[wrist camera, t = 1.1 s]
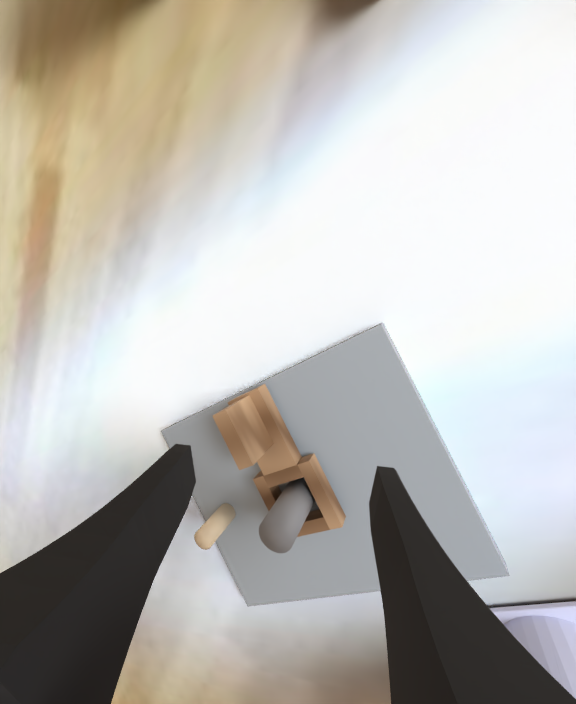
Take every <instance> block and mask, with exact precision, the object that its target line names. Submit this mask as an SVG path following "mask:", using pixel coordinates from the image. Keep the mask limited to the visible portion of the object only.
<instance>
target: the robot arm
mask: <svg viewBox="0 0 576 704" xmlns="http://www.w3.org/2000/svg"><path fill="white" fill-rule="evenodd" d="M195 484H196V478H195V471H194V465H193V458H192V451H191V445H183V444H175V445H174V446H172V447H171V448H170V449H169V450H168V451H167V452H166V453H165V454H164V455H163V456H162V457H161V458H159V459H158V460H157V461H156V462H155V463H154V464H153V465H152V466H151V467H150V468H149V469H148V470H146V471H145V472H144V473H143V474H142V475H141V476H140V477H139V478H137V479H136V480H135V481H134V482H133V483H132V484H131V485H129V486H128V487H127V488H126V489H125V490H124V491H122V492H121V493H120V494H119V495H117V496H116V497H115V498H114V499H113V500H111V501H110V502H109V503H108V504H106V505H105V506H104V507H103V508H101V509H100V510H99V511H97V512H96V513H95V514H93V515H92V516H91V517H89V518H88V519H87V520H85V521H84V522H82V523H81V524H80V525H78V526H77V527H75V528H74V529H72V530H71V531H69V532H68V533H66V534H65V535H63V536H62V537H60V538H59V539H57V540H56V541H54V542H52V543H51V544H49V545H48V546H46V547H45V548H43V549H42V550H40V551H38V552H37V553H35V554H33V555H32V556H30V557H28V558H27V559H25V560H23V561H21V562H20V563H18V564H16V565H14V566H13V567H11V568H9V569H7V570H5V571H4V572H2V573H0V704H111V701H112V698H113V695H114V692H115V689H116V685H117V682H118V679H119V676H120V673H121V670H122V667H123V664H124V661H125V658H126V655H127V652H128V649H129V646H130V643H131V640H132V638H133V635H134V632H135V629H136V626H137V623H138V621H139V618H140V615H141V612H142V609H143V607H144V604H145V601H146V599H147V596H148V593H149V591H150V588H151V585H152V583H153V580H154V578H155V576H156V573H157V571H158V569H159V566H160V564H161V562H162V560H163V558H164V556H165V554H166V552H167V550H168V548H169V545H170V543H171V541H172V539H173V537H174V535H175V533H176V531H177V529H178V527H179V524H180V522H181V520H182V518H183V516H184V514H185V512H186V509H187V507H188V504H189V501H190V499H191V496H192V493H193V490H194V487H195ZM369 512H370V527H371V536H372V542H373V548H374V554H375V560H376V566H377V572H378V578H379V583H380V589H381V595H382V601H383V609H384V617H385V628H386V640H387V651H388V664H389V677H390V691H391V704H576V601H571V602H559V603H547V604H534V605H522V606H510V607H497V608H489V607H488V606H487V605H486V604H485V603H484V602H483V600H482V599H481V598H480V597H479V595H478V594H477V593H476V592H475V591H474V589H473V588H472V587H471V586H470V584H469V583H468V582H467V581H466V579H465V578H464V577H463V575H462V574H461V573H460V572H459V570H458V569H457V568H456V566H455V565H454V564H453V562H452V561H451V559H450V558H449V557H448V555H447V554H446V552H445V551H444V550H443V548H442V547H441V545H440V544H439V542H438V541H437V539H436V538H435V536H434V535H433V533H432V532H431V530H430V529H429V527H428V526H427V524H426V522H425V521H424V519H423V517H422V516H421V514H420V513H419V511H418V509H417V508H416V506H415V504H414V503H413V501H412V499H411V497H410V496H409V494H408V492H407V490H406V488H405V486H404V485H403V483H402V481H401V479H400V477H399V475H398V473H397V471H396V470H395V469H394V468H391V467H382V466H377V469H376V473H375V478H374V482H373V487H372V491H371V496H370V500H369Z"/></svg>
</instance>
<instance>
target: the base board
mask: <svg viewBox="0 0 576 704" xmlns="http://www.w3.org/2000/svg"><path fill="white" fill-rule="evenodd" d="M263 384H265V385H266V387H267V389H268V391H269V393H270V395H271V397H272V399H273V401H274V403H275V405H276V407H277V409H278V411H279V413H280V415H281V417H282V419H283V421H284V423H285V424H286V426H287V428H288V430H289V432H290V434H291V436H292V438H293V440H294V442H295V444H296V446H297V448H298V450H299V452H300V454H301V456H302V457H304V456H307V455H310V454H313V453H314V454H315V456H316V458H317V460H318V462H319V464H320V466H321V468H322V470H323V472H324V474H325V475H326V477H327V479H328V481H329V483H330V485H331V487H332V489H333V491H334V493H335V495H336V497H337V499H338V501H339V503H340V505H341V507H342V509H343V511H344V513H345V515H346V518H345V521H344V524H343V527H341V528H337V529H332V530H327V531H323V532H318V533H313V534H309V535H304V536H300V537H297V536H298V534H299V532H300V530H301V528H302V526H303V524H304V522H305V520H306V518H307V516H308V514H309V512H310V511H314V510H318V509H319V507H318V505H317V503H316V501H315V499H314V497H313V495H312V493H311V491H310V489H309V487H308V485H307V483H306V481H305V479H304V477H303V478H299V479H296V480H293V481H290V482H286V483H283V484H280V485H278V486H279V488H280V490H281V492H282V493H281V495H280V496H279V497H278V499H277V500H276V502H275V503H274V505H273V506H272V508H271V509H270V511H268V509H267V507H266V505H265V503H264V501H263V499H262V497H261V495H260V493H259V491H258V489H257V487H256V485H255V483H254V481H253V479H254V477H255V476H256V475H257V474H258V473H259V472H260V471H261V469H260V467H259V465H258V463H257V462H256V463H255V464H254V465H253V466H250V467H247V468H245V469H242V470H239V469H238V467H237V465H236V463H235V461H234V459H233V457H232V455H231V453H230V451H229V449H228V447H227V445H226V443H225V441H224V439H223V437H222V435H221V433H220V431H219V429H218V427H217V425H216V423H215V421H214V418H213V415H214V414H216V413H218V412H219V411H221V410H223V409H224V408H226V407H228V406H229V405H228V403H227V402H229V401H231V400H233V399H234V398H236V397H238V396H240V395H242V394H245V393H247V392H249V391H251V390H253V389H255V388H257V387H259V386H261V385H263ZM161 432H162V434H163V436H164V438H165V440H166V442H167V444H168V446H169V448H171V447H172V446H174V445H175V444H183V445H191V451H192V458H193V465H194V471H195V478H196V484H195V487H194V490H193V493H192V495H193V497H194V499H195V501H196V503H197V505H198V507H199V509H200V511H201V513H202V515H203V517H204V519H205V521H206V522H205V523H204V524H203V525H202V526H201V527H200V529H199V530H198V531H197V532H196V533H195V535H194V538H195V542H196V543H197V545H198V546H199V547H200V548H202V549H205V550H207V549H209V548H210V547H211V546H212V545H213V544H214V542H216V544H217V546H218V548H219V550H220V552H221V554H222V556H223V558H224V560H225V562H226V564H227V566H228V568H229V570H230V572H231V574H232V576H233V578H234V580H235V582H236V584H237V586H238V588H239V590H240V592H241V594H242V596H243V598H244V600H245V602H246V604H247V606H256V605H264V604H273V603H282V602H290V601H299V600H307V599H316V598H324V597H333V596H341V595H350V594H358V593H367V592H375V591H381V589H380V583H379V578H378V572H377V566H376V560H375V554H374V548H373V542H372V536H371V527H370V512H369V500H370V496H371V491H372V487H373V482H374V478H375V473H376V469H377V466H382V467H391V468H394V469H395V470H396V471H397V473H398V475H399V477H400V479H401V481H402V483H403V485H404V486H405V488H406V490H407V492H408V494H409V496H410V497H411V499H412V501H413V503H414V504H415V506H416V508H417V509H418V511H419V513H420V514H421V516H422V517H423V519H424V521H425V522H426V524H427V526H428V527H429V529H430V530H431V532H432V533H433V535H434V536H435V538H436V539H437V541H438V542H439V544H440V545H441V547H442V548H443V550H444V551H445V552H446V554H447V555H448V557H449V558H450V559H451V561H452V562H453V564H454V565H455V566H456V568H457V569H458V570H459V572H460V573H461V574H462V575H463V577H464V578H465V579H466V581H469V580H478V579H486V578H495V577H503V576H509V573H508V570H507V567H506V563H505V561H504V559H503V557H502V555H501V553H500V551H499V549H498V547H497V545H496V543H495V541H494V539H493V537H492V535H491V533H490V531H489V529H488V527H487V525H486V523H485V521H484V520H483V518H482V516H481V514H480V512H479V510H478V508H477V506H476V504H475V502H474V500H473V498H472V496H471V494H470V492H469V490H468V488H467V486H466V484H465V482H464V480H463V478H462V476H461V474H460V473H459V471H458V469H457V467H456V465H455V463H454V461H453V459H452V457H451V455H450V453H449V451H448V449H447V447H446V445H445V443H444V441H443V439H442V437H441V435H440V433H439V431H438V429H437V427H436V425H435V424H434V422H433V420H432V418H431V416H430V414H429V412H428V410H427V408H426V406H425V404H424V402H423V400H422V398H421V396H420V394H419V392H418V390H417V388H416V386H415V384H414V382H413V380H412V378H411V377H410V375H409V373H408V371H407V369H406V367H405V365H404V363H403V361H402V359H401V357H400V355H399V353H398V351H397V349H396V347H395V345H394V343H393V341H392V339H391V337H390V335H389V333H388V331H387V329H386V328H385V326H384V324H383V323H381V324H379V325H377V326H375V327H373V328H371V329H369V330H367V331H365V332H362V333H360V334H358V335H356V336H354V337H352V338H350V339H348V340H346V341H344V342H342V343H340V344H338V345H336V346H334V347H332V348H330V349H328V350H326V351H323V352H321V353H319V354H317V355H315V356H313V357H311V358H309V359H307V360H305V361H303V362H301V363H299V364H297V365H295V366H293V367H291V368H289V369H286V370H284V371H282V372H280V373H278V374H276V375H274V376H272V377H270V378H268V379H266V380H264V381H262V382H260V383H258V384H256V385H254V386H252V387H250V388H247V389H245V390H243V391H241V392H239V393H237V394H235V395H233V396H231V397H229V398H227V399H225V400H223V401H221V402H219V403H217V404H215V405H213V406H211V407H208V408H206V409H204V410H202V411H200V412H198V413H196V414H194V415H192V416H190V417H188V418H186V419H184V420H182V421H180V422H178V423H176V424H174V425H171V426H169V427H168V428H166V429H164V430H162V431H161Z"/></svg>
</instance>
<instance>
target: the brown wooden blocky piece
mask: <svg viewBox="0 0 576 704" xmlns="http://www.w3.org/2000/svg"><path fill="white" fill-rule="evenodd" d="M227 403H228V405H229V406H228V407H226V408H224V409H223V410H221V411H219V412H218V413H216V414H214V415H213V418H214V421H215V423H216V425H217V427H218V429H219V431H220V433H221V435H222V437H223V439H224V441H225V443H226V445H227V447H228V449H229V451H230V453H231V455H232V457H233V459H234V461H235V463H236V465H237V467H238V469H239V470H242V469H245V468H247V467H250V466H253V465H254V464H255V463H256V462H257V463H258V465H259V467H260V469H261V471H260V472H259V473H258V474H257V475H256V476H255V477H254V479H253V481H254V483H255V485H256V487H257V489H258V491H259V493H260V495H261V497H262V499H263V501H264V503H265V505H266V507H267V509H268V511H270V509H271V508H272V506H273V505H274V503H275V502H276V500H277V499H278V497H279V496H280V495H281V493H282V492H281V490H280V488H279V486H278V485H280V484H283V483H286V482H290V481H293V480H296V479H299V478H303V477H304V479H305V481H306V483H307V485H308V487H309V489H310V491H311V493H312V495H313V497H314V499H315V501H316V503H317V505H318V507H319V509H318V510H314V511H310V512H309V514H308V516H307V518H306V520H305V522H304V524H303V526H302V528H301V530H300V532H299V534H298V536H297V537H300V536H304V535H309V534H313V533H318V532H323V531H327V530H332V529H337V528H341V527H343V524H344V521H345V518H346V515H345V513H344V511H343V509H342V507H341V505H340V503H339V501H338V499H337V497H336V495H335V493H334V491H333V489H332V487H331V485H330V483H329V481H328V479H327V477H326V475H325V474H324V472H323V470H322V468H321V466H320V464H319V462H318V460H317V458H316V456H315V454H314V453H313V454H310V455H307V456H304V457H302V456H301V454H300V452H299V450H298V448H297V446H296V444H295V442H294V440H293V438H292V436H291V434H290V432H289V430H288V428H287V426H286V424H285V423H284V421H283V419H282V417H281V415H280V413H279V411H278V409H277V407H276V405H275V403H274V401H273V399H272V397H271V395H270V393H269V391H268V389H267V387H266V385H265V384H263V385H261V386H259V387H257V388H255V389H253V390H251V391H249V392H247V393H245V394H242V395H240V396H238V397H236V398H234V399H233V400H231V401H229V402H227Z"/></svg>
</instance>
